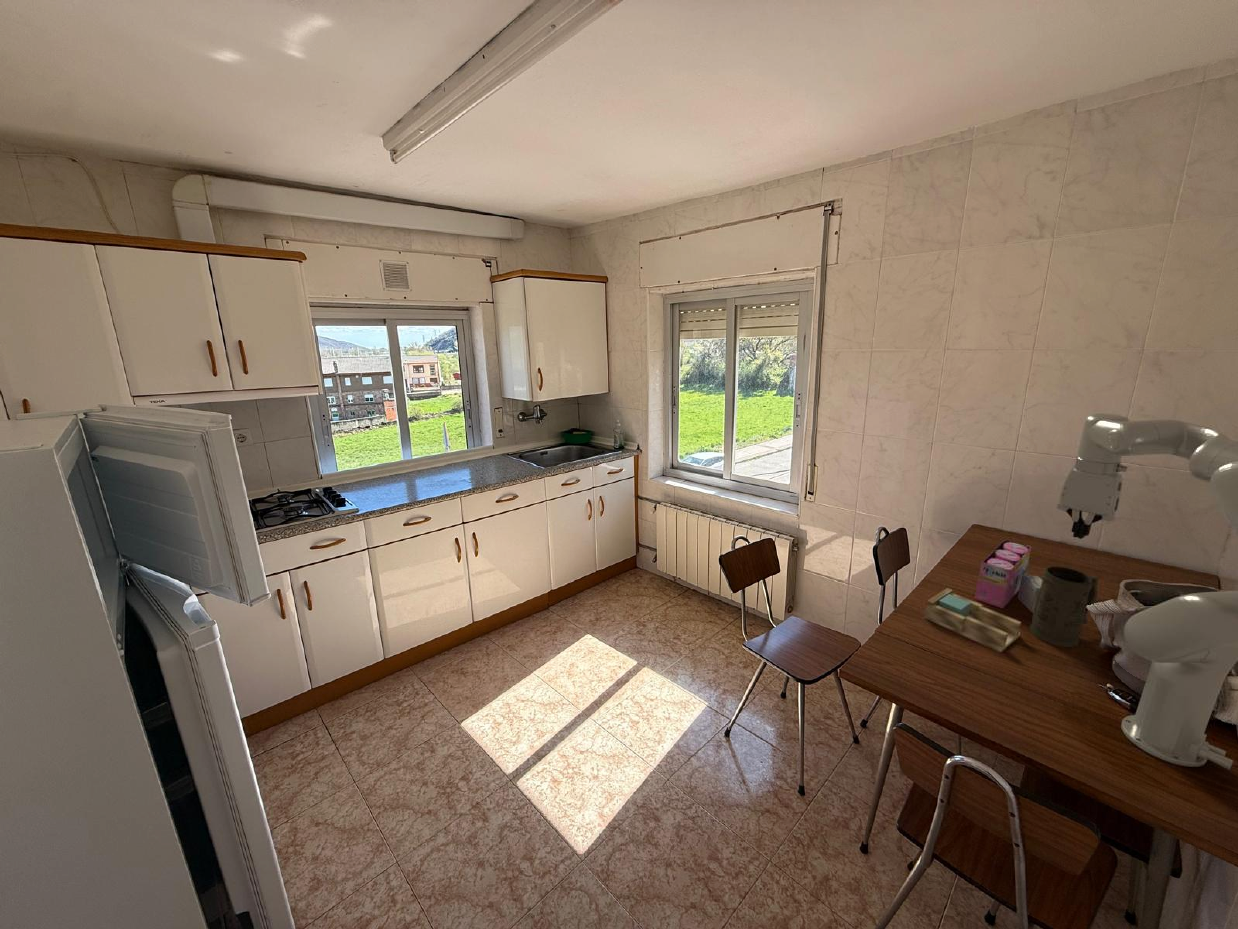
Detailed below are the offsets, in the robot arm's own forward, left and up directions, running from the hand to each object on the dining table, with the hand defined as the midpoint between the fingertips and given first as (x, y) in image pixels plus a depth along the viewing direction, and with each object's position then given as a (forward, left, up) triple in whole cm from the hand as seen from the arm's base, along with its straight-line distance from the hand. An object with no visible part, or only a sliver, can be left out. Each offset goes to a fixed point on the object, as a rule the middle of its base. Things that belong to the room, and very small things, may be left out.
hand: (1079, 536), depth 123 cm
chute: (+18, +3, -35) cm, 40 cm away
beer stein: (+2, -13, -35) cm, 38 cm away
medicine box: (+12, -23, -35) cm, 44 cm away
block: (+23, +3, -34) cm, 41 cm away
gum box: (+21, -25, -35) cm, 48 cm away
